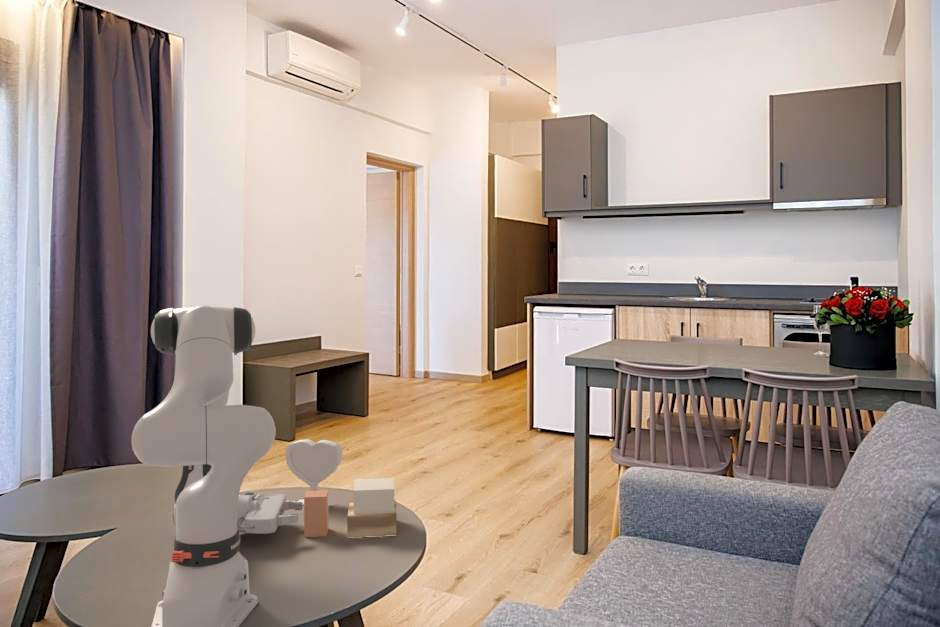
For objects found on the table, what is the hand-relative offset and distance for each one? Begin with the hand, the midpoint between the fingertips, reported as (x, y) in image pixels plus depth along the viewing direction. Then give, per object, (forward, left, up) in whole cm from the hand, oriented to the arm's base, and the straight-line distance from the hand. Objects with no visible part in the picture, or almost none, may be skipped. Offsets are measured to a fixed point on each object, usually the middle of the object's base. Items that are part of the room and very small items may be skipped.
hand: (300, 511), depth 174 cm
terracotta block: (0, -4, -6) cm, 7 cm away
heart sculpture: (+24, -1, -6) cm, 25 cm away
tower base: (+1, -18, -6) cm, 19 cm away
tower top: (+1, -18, 0) cm, 18 cm away
